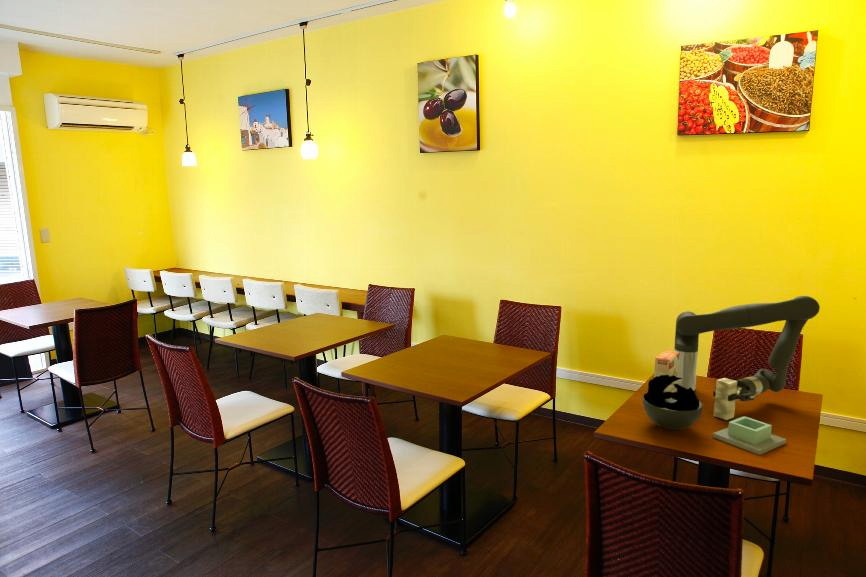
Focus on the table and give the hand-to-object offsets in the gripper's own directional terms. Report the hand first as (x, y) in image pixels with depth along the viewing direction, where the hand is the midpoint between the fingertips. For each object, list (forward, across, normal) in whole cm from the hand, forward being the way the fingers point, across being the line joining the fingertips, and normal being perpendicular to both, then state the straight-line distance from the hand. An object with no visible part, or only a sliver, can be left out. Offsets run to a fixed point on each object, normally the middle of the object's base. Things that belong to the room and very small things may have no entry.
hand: (721, 396), depth 211 cm
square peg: (-3, 0, +8) cm, 9 cm away
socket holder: (+9, +16, +9) cm, 21 cm away
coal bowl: (+22, -5, +9) cm, 25 cm away
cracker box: (+5, -20, +9) cm, 23 cm away
